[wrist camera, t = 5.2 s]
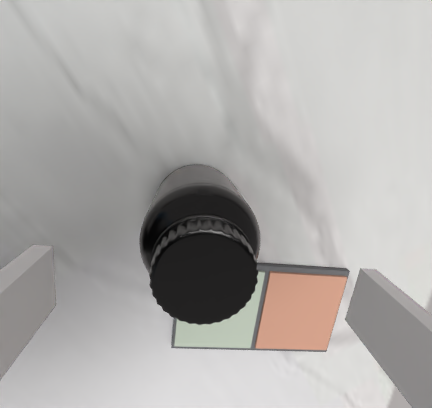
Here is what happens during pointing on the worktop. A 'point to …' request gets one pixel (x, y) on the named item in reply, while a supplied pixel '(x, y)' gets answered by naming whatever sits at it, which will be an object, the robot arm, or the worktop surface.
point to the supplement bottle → (200, 246)
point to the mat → (276, 313)
